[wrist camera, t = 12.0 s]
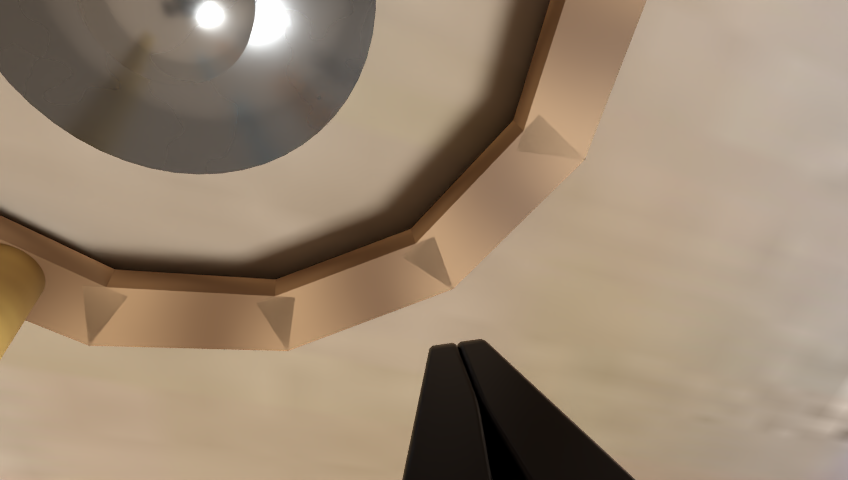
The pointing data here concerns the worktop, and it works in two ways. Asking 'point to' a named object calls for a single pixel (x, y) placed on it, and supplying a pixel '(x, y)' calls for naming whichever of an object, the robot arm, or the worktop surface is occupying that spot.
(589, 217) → the worktop surface
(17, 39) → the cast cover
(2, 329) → the brown ring with post
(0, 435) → the worktop surface
